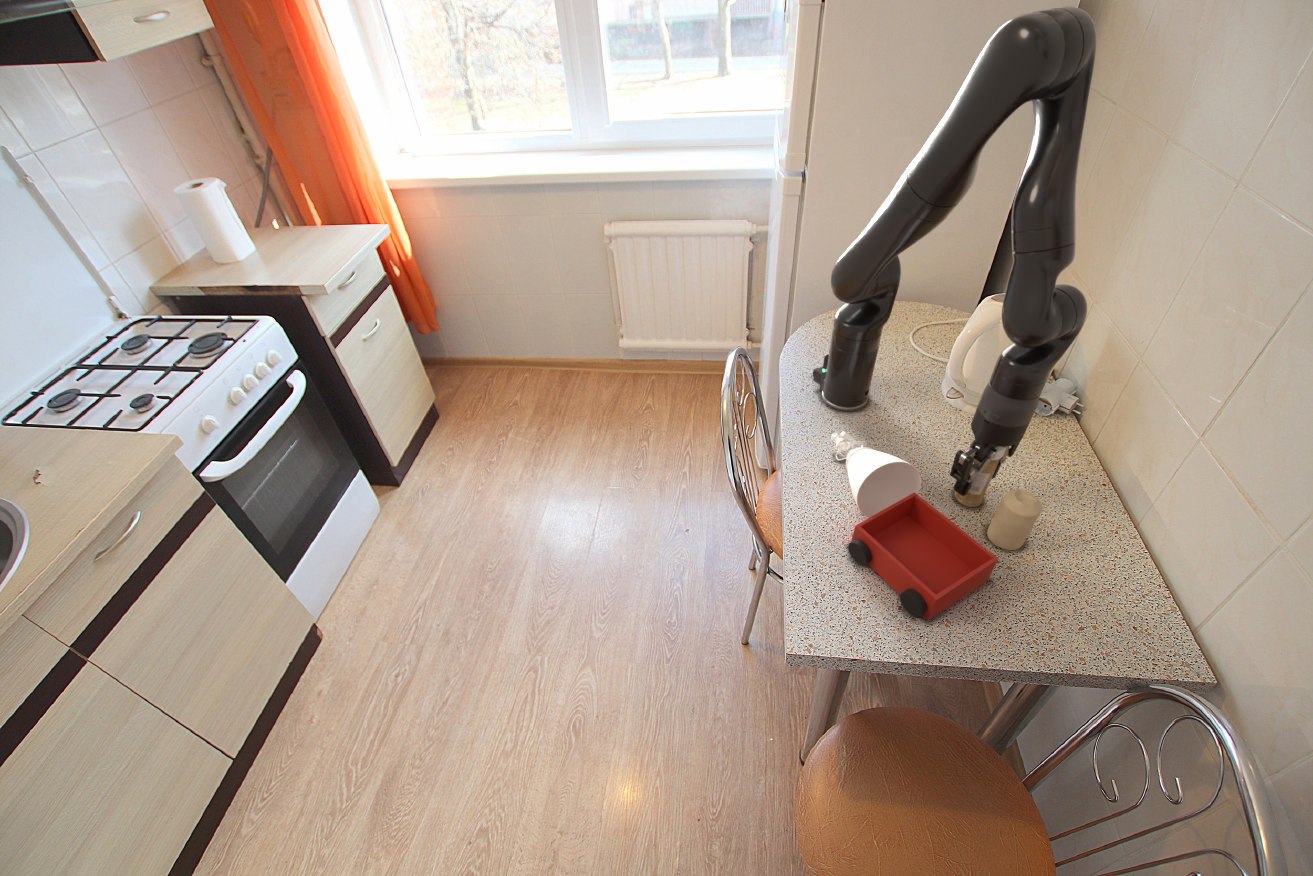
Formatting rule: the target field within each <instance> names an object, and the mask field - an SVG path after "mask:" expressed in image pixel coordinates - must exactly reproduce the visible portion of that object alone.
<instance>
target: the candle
mask: <svg viewBox="0 0 1313 876" xmlns="http://www.w3.org/2000/svg"><path fill="white" fill-rule="evenodd" d="M1042 511H1043V504H1042V502H1041V501H1040V499H1039V498H1038V497H1037V496H1036V495H1034V494H1033V493H1032V492H1029V491H1026V490H1024V489H1011V490H1008V491H1006V492H1005V493H1004V495H1003V496H1002V499H1001V500H1000V503H999V505H998V507H997V508H996V510H995V513H994V515H993V517H992V520H991V521H990V524H989V526H988V527H987V531H986V534H987V538H988V540H989V541H990V542H991V543H992V544H993V545H995V546H996V547H998V548H1000V549H1002V550H1006V551H1015V550H1019V549H1020V548H1022V546H1023V545H1024V544H1025V542H1026V540H1027V538H1028V537H1029V535H1030V533H1031V531H1032V529H1033V528H1034V526H1035V524H1036V522H1037V520H1038V519H1039V517H1040V516H1041V513H1042Z"/></svg>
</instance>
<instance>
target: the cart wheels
mask: <svg viewBox="0 0 1313 876" xmlns="http://www.w3.org/2000/svg"><path fill="white" fill-rule="evenodd" d="M847 548H848V553H849V555H850V558H851V559H852V560H853V562H855V563H856V564H858V565H860V566H865V565H868V564H867V563H869V562H870V561H871V559H872V555H871V551H870V549H869V548H868V546H867V545H866V544H865V543H864V542H863V541H861V540H854V541H853V542H851V541H850V542H849V543H848V546H847ZM899 601H900V604H901V606H902V608H903V609H904V610H905V611H906V612H907V613H908V614H909V615H911V616H912V617H915V618H920V617H921V616H922V615H923V614H924V613H926V611H927V605H926V602H925V600H924V599H923V597H922V596H921V595H920V594H919V593H918V592H917V591H915V590H913V589H907V590H905V591H904V592H902V593H901V594H899Z"/></svg>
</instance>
